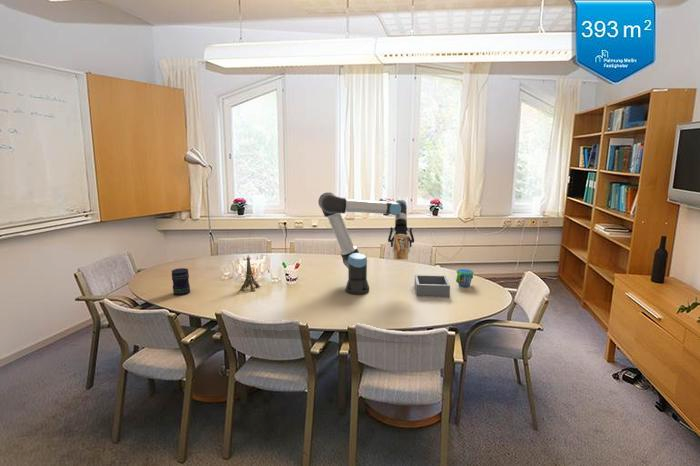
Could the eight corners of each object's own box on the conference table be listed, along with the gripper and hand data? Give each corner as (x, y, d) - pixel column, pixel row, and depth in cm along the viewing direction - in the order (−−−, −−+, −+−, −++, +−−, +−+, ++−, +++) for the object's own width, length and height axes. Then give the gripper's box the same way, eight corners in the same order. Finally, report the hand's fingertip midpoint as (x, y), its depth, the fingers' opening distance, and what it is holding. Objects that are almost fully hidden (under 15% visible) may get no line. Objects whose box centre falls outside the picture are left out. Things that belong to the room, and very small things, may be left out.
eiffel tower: (254, 292, 262) (252, 254, 257) (238, 291, 264) (236, 253, 259) (260, 286, 272) (259, 249, 267) (245, 285, 274) (243, 249, 269)
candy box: (407, 257, 263) (407, 234, 259) (408, 259, 258) (409, 235, 255) (393, 258, 262) (393, 234, 259) (394, 259, 258) (394, 235, 255)
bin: (416, 296, 254) (416, 284, 252) (414, 285, 273) (414, 274, 272) (449, 297, 252) (450, 285, 251) (445, 286, 272) (445, 275, 270)
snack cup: (466, 281, 282) (466, 267, 280) (478, 285, 274) (479, 270, 271) (450, 285, 274) (450, 270, 272) (462, 290, 265) (463, 274, 263)
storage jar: (186, 289, 266) (184, 267, 263) (192, 293, 260) (191, 270, 257) (170, 293, 260) (168, 270, 257) (177, 297, 253) (175, 273, 250)
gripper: (417, 224, 270) (418, 254, 258) (384, 224, 272) (383, 253, 260) (418, 218, 264) (419, 248, 252) (384, 217, 266) (383, 247, 254)
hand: (401, 251), depth 256 cm, fingers closed on candy box, 9 cm apart
